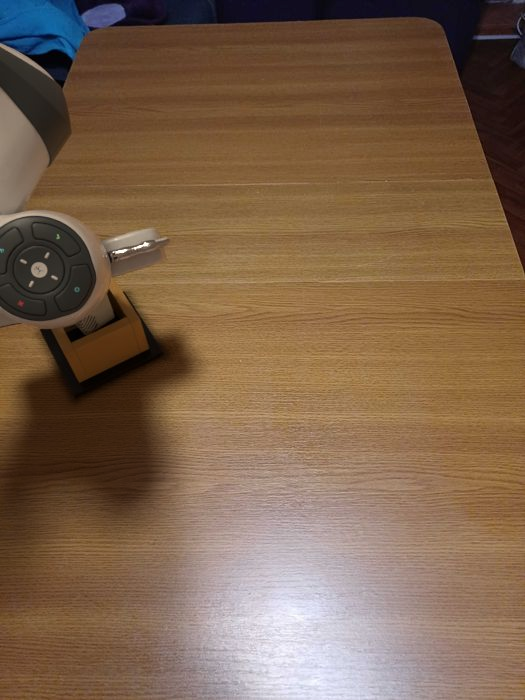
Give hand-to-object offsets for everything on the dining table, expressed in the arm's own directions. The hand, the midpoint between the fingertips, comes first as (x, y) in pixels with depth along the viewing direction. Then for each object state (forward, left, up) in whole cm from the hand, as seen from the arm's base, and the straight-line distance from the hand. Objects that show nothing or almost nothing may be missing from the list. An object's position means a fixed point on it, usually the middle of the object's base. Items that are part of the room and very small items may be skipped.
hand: (72, 271), depth 69 cm
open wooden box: (0, -1, -13) cm, 13 cm away
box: (0, -1, -7) cm, 7 cm away
